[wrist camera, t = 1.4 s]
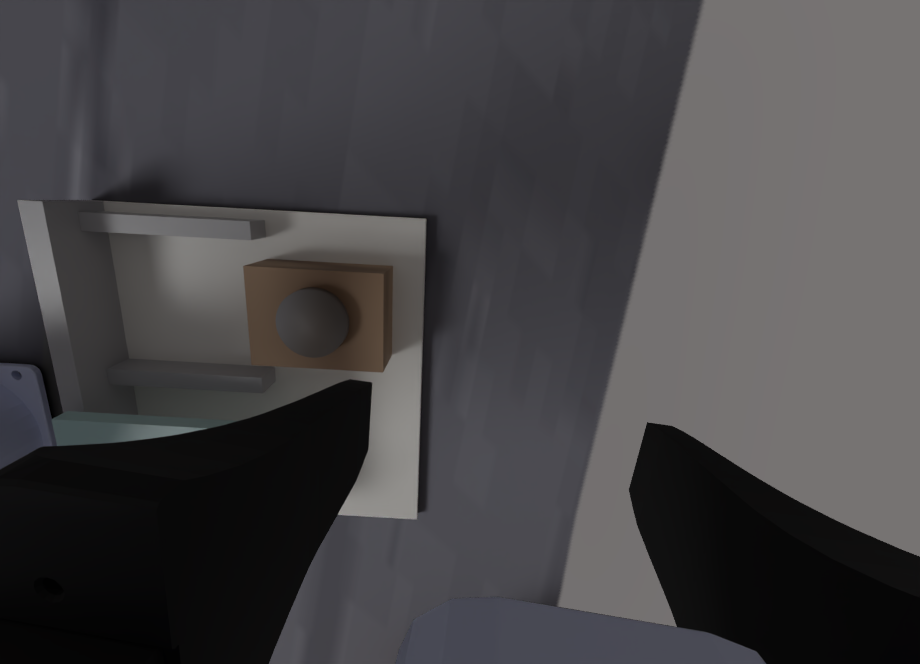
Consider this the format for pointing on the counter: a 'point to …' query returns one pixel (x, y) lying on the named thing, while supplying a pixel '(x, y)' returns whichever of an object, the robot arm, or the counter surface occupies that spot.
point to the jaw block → (319, 314)
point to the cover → (122, 427)
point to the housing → (219, 319)
